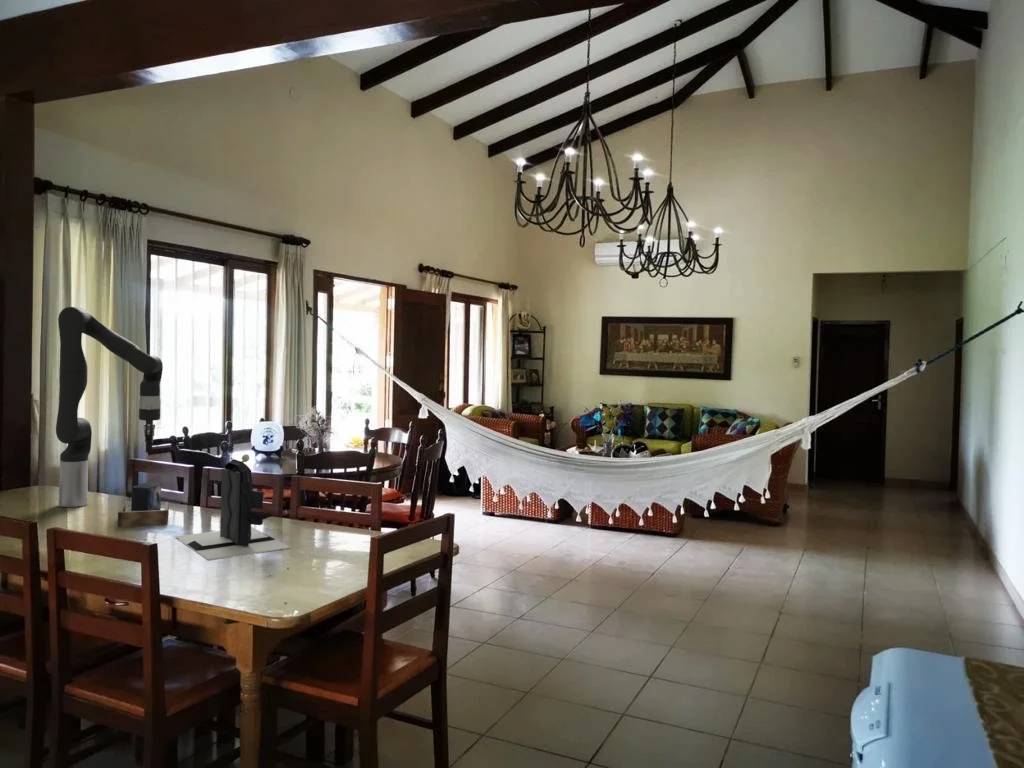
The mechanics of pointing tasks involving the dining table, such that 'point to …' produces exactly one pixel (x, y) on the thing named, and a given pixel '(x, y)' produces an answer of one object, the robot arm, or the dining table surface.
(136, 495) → the small box
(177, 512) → the dining table surface
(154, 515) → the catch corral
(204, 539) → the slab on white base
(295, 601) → the dining table surface
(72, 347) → the robot arm
